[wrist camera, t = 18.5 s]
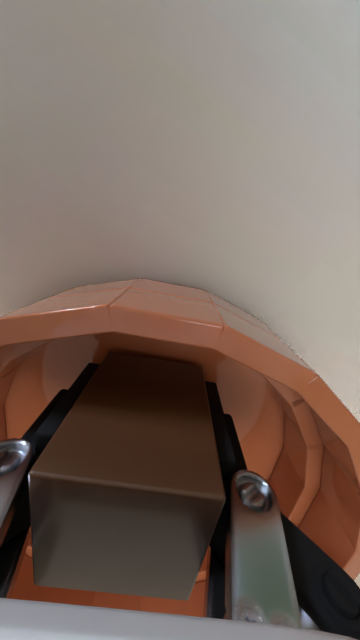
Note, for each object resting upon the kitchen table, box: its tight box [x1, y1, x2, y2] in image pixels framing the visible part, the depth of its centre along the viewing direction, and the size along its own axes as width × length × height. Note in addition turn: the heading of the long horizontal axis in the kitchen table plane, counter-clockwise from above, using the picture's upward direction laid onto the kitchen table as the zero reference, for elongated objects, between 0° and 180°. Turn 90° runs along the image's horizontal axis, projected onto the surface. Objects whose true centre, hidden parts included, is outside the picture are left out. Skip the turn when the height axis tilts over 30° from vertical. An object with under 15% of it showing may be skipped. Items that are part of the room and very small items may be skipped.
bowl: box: [0, 279, 360, 617], centre depth 10 cm, size 17×17×5 cm
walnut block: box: [28, 351, 226, 601], centre depth 8 cm, size 4×4×6 cm
